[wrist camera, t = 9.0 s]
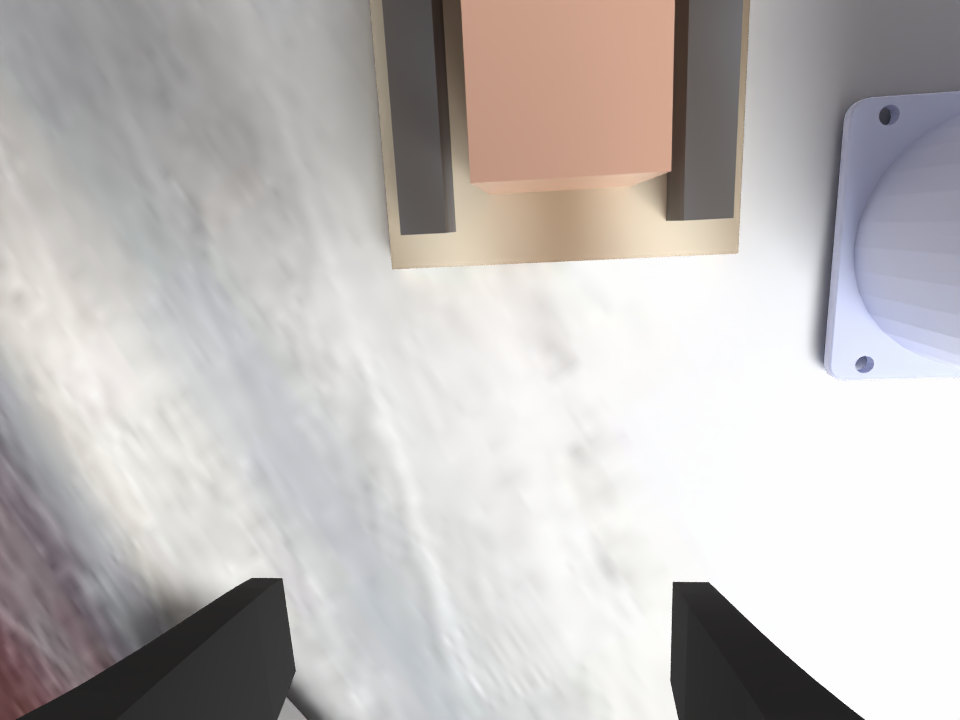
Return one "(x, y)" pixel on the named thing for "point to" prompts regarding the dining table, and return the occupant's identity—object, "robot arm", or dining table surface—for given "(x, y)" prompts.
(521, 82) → the clay block
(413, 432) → the dining table surface
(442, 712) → the dining table surface
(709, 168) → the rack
